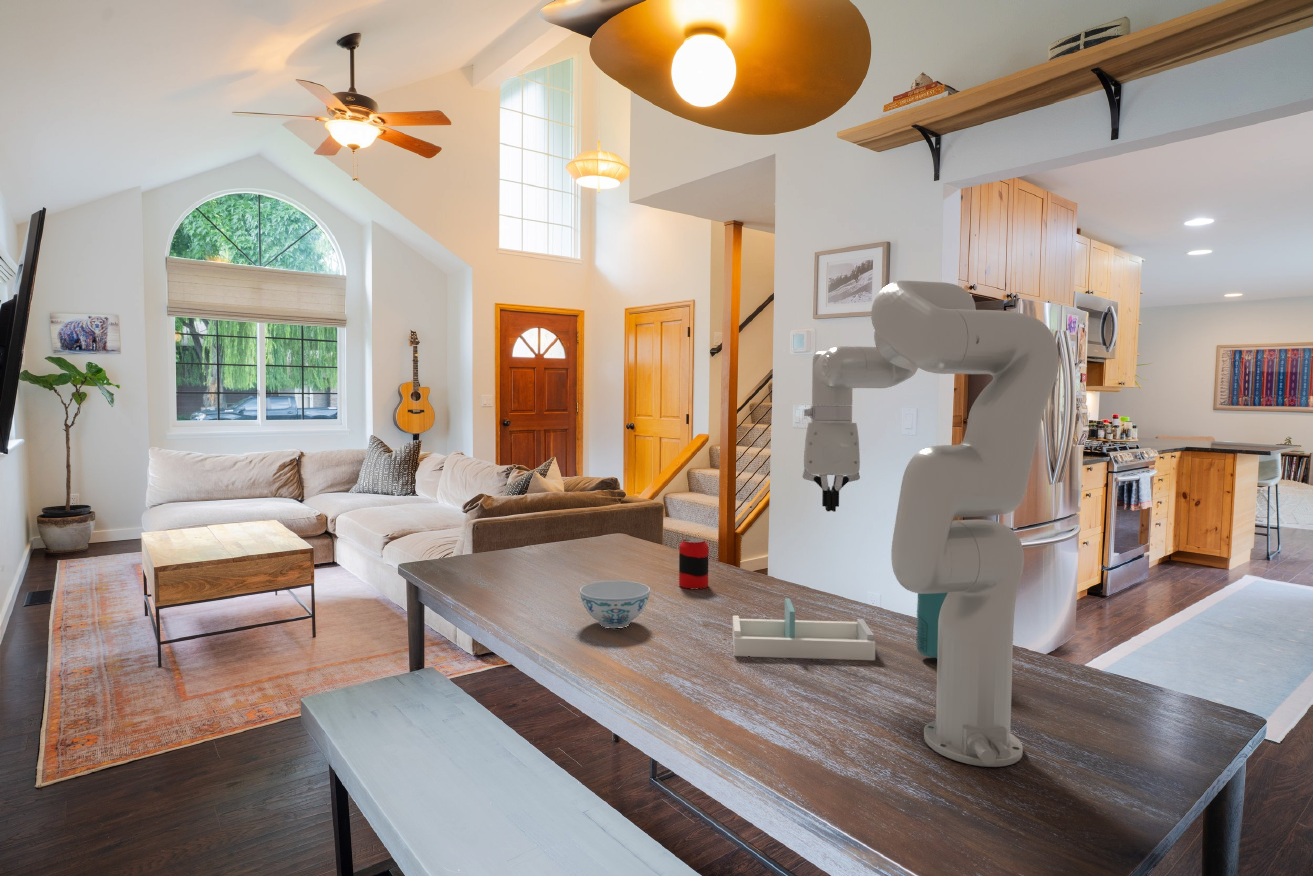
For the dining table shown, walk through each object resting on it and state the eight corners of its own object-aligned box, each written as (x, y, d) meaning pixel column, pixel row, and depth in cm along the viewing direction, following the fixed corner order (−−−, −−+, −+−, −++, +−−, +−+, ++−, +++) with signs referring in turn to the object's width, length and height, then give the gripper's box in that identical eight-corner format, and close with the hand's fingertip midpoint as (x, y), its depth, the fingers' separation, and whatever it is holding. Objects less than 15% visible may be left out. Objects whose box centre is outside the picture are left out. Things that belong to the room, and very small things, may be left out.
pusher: (794, 651, 136) (795, 611, 136) (789, 651, 136) (789, 611, 136) (789, 635, 145) (789, 598, 145) (784, 635, 145) (784, 598, 145)
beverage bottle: (956, 667, 130) (959, 558, 129) (917, 664, 131) (920, 556, 130) (949, 655, 136) (951, 550, 135) (912, 652, 138) (914, 549, 137)
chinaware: (568, 631, 149) (568, 595, 149) (595, 611, 164) (595, 578, 163) (636, 639, 145) (636, 601, 145) (658, 617, 159) (658, 583, 159)
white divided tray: (875, 660, 133) (875, 637, 133) (734, 656, 135) (734, 633, 135) (861, 638, 146) (861, 617, 145) (732, 634, 148) (732, 613, 147)
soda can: (679, 582, 191) (679, 537, 190) (707, 582, 191) (708, 537, 190) (679, 589, 183) (679, 543, 183) (708, 590, 183) (709, 543, 182)
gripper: (793, 415, 135) (792, 512, 136) (875, 415, 133) (873, 514, 134) (790, 414, 142) (789, 507, 143) (868, 415, 141) (866, 508, 141)
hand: (830, 510), depth 139 cm, fingers closed
